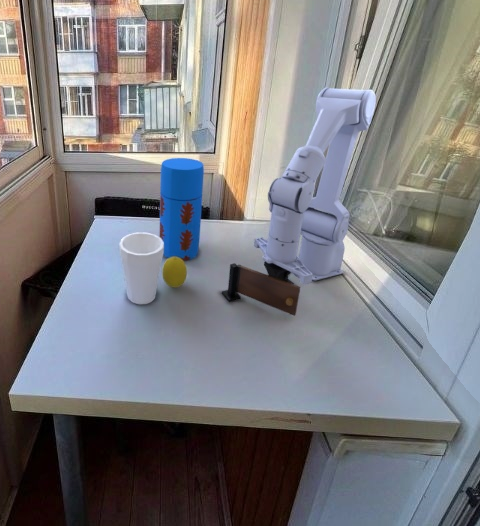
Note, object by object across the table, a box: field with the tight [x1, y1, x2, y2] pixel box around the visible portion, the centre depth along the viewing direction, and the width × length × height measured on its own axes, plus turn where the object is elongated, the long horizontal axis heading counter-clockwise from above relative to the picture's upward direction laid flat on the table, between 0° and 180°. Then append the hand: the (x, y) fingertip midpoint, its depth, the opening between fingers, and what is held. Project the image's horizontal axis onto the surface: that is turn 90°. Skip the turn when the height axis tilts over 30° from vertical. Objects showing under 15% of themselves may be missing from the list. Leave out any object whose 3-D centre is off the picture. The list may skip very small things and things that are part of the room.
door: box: [235, 264, 301, 317], centre depth 69 cm, size 13×2×6 cm, turn 53°
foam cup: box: [118, 231, 164, 305], centre depth 72 cm, size 10×9×13 cm
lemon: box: [161, 256, 188, 289], centre depth 75 cm, size 6×6×8 cm
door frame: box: [221, 263, 295, 303], centre depth 74 cm, size 17×3×8 cm, turn 109°
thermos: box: [158, 157, 205, 262], centre depth 88 cm, size 11×11×25 cm
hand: (275, 292), depth 71 cm, fingers closed
